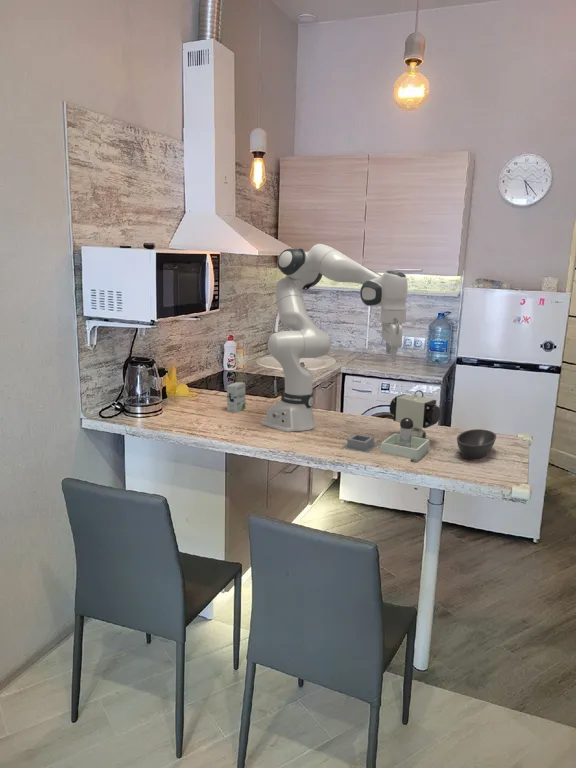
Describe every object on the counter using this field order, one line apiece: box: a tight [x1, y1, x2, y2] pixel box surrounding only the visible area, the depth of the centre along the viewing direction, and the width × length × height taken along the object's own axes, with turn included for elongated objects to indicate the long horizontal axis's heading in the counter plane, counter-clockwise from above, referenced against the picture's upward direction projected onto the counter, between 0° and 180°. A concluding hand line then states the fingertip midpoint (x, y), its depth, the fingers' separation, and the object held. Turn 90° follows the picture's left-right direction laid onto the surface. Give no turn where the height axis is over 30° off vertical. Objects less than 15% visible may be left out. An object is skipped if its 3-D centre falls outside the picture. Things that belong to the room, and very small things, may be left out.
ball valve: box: [389, 393, 441, 439], centre depth 220 cm, size 18×8×18 cm, turn 48°
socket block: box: [342, 433, 379, 454], centre depth 209 cm, size 10×10×4 cm
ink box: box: [226, 381, 246, 414], centre depth 257 cm, size 9×5×12 cm, turn 155°
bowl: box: [456, 428, 497, 461], centre depth 206 cm, size 12×22×6 cm, turn 145°
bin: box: [380, 433, 430, 463], centre depth 205 cm, size 13×13×4 cm
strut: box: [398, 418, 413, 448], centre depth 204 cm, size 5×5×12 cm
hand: (390, 355), depth 209 cm, fingers open, 8 cm apart
